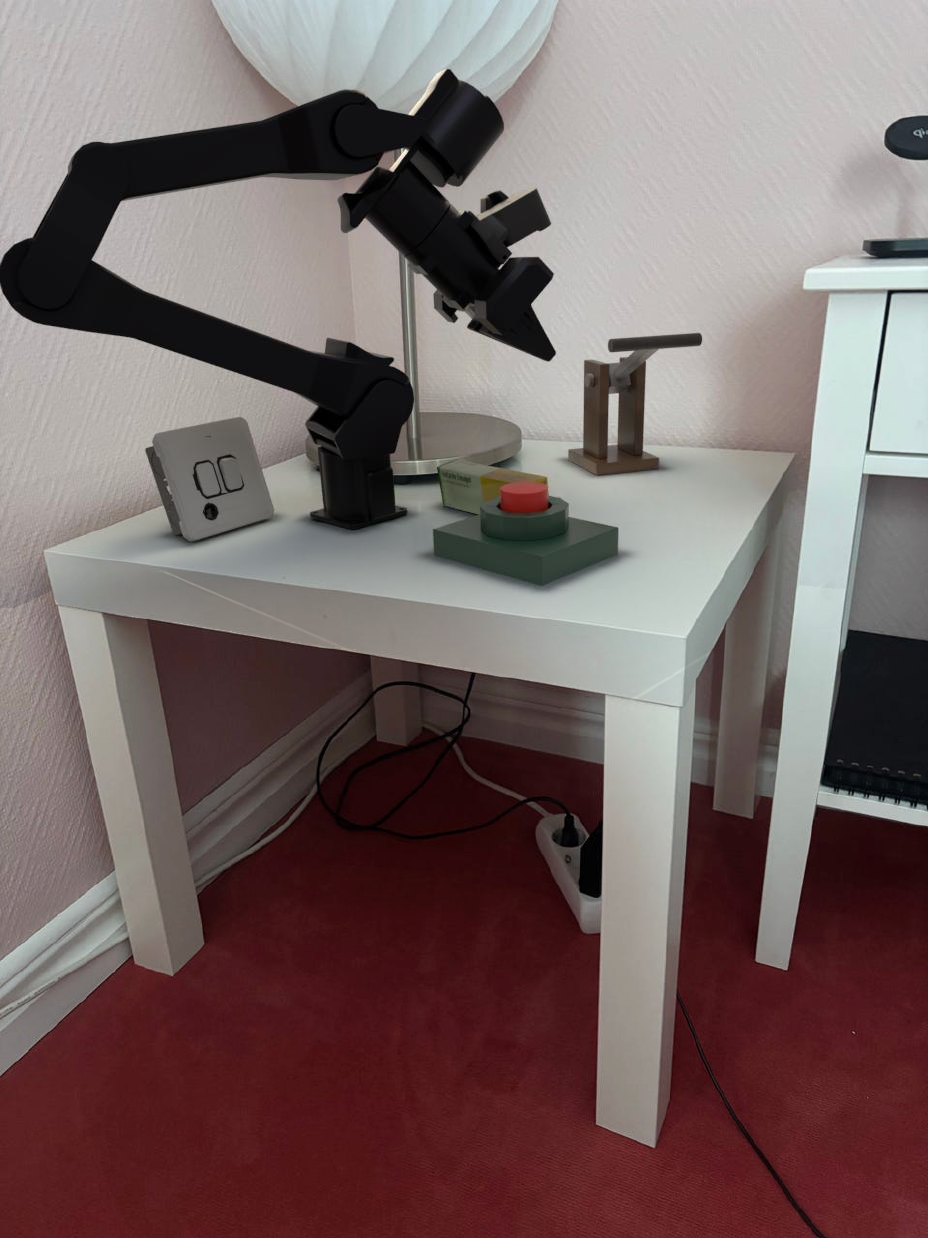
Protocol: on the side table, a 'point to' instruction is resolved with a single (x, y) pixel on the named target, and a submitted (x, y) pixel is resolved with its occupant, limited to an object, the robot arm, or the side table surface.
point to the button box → (526, 542)
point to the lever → (642, 354)
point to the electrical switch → (209, 478)
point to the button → (524, 497)
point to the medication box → (476, 483)
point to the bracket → (630, 424)
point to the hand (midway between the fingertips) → (551, 357)
